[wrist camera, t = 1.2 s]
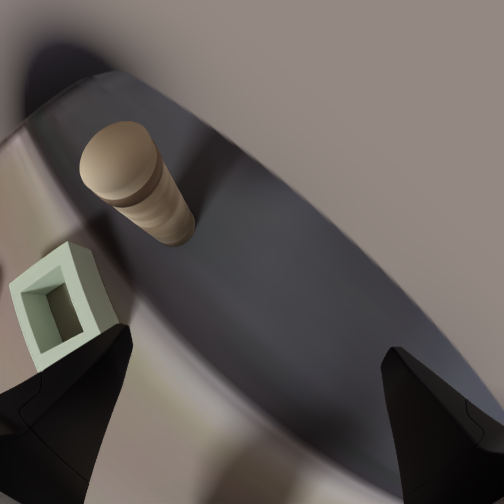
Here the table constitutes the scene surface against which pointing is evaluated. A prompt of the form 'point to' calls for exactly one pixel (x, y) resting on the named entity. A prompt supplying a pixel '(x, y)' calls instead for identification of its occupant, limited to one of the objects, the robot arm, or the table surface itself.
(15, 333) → the table surface
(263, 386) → the table surface
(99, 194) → the beige cylinder
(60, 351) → the square frame
